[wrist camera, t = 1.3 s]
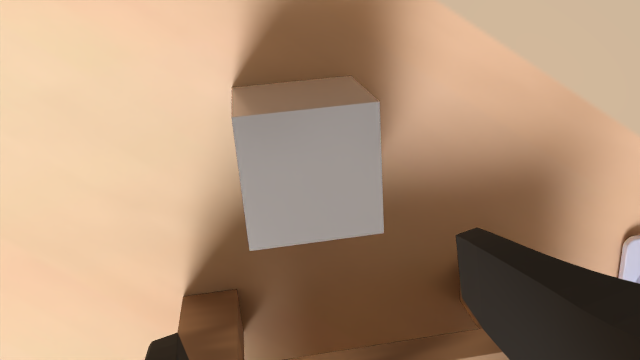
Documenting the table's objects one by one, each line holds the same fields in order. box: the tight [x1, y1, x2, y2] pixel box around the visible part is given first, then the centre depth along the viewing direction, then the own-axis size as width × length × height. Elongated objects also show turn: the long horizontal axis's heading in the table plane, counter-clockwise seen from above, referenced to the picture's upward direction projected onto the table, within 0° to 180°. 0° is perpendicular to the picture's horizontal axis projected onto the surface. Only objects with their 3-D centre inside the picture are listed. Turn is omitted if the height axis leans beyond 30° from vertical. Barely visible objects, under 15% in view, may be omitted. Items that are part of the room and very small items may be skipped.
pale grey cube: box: [232, 76, 384, 251], centre depth 22 cm, size 5×5×5 cm
